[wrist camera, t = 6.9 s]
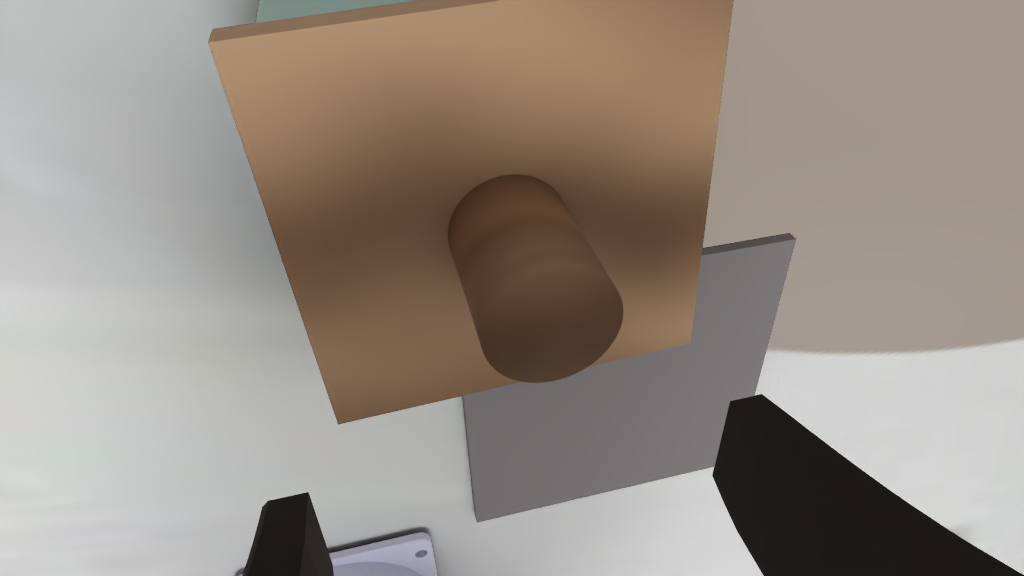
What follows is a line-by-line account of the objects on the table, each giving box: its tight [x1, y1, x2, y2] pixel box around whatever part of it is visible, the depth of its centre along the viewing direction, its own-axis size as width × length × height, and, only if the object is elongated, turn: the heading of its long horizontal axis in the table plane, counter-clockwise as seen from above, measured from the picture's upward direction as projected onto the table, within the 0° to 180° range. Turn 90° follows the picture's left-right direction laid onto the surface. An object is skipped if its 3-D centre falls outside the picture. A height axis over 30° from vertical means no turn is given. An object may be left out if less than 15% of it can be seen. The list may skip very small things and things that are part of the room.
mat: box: [462, 233, 796, 522], centre depth 26 cm, size 12×12×1 cm
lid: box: [208, 0, 733, 424], centre depth 15 cm, size 10×10×4 cm
